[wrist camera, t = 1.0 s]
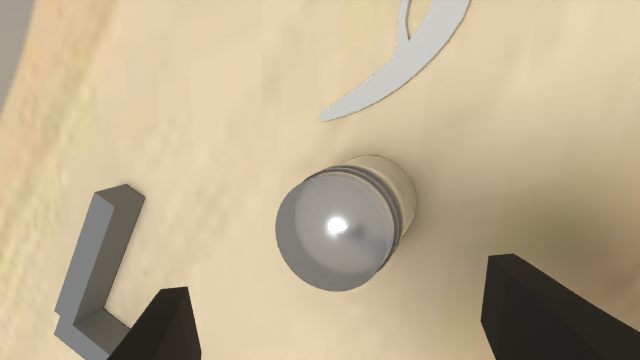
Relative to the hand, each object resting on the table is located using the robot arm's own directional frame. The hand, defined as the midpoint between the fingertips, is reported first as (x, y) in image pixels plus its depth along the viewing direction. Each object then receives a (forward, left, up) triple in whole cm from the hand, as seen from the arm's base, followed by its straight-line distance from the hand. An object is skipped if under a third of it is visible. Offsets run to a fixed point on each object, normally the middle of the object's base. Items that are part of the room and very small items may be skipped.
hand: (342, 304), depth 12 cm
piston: (+2, +1, -12) cm, 12 cm away
